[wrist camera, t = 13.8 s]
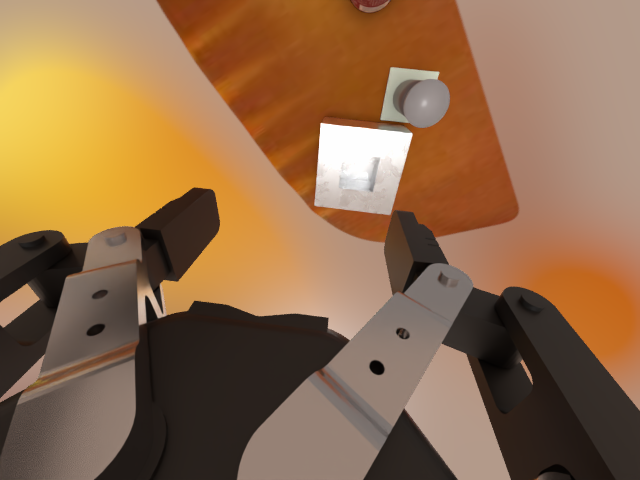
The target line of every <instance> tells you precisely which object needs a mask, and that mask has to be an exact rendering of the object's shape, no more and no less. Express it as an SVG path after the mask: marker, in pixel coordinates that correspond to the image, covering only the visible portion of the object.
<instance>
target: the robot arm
mask: <svg viewBox="0 0 640 480" xmlns="http://www.w3.org/2000/svg"><path fill="white" fill-rule="evenodd" d="M219 226H220V220H219V214H218V208H217V202H216V197H215V193H214V191H213V190H211V189H203V188H192V189H191V190H190V191H188V192H187V193H186V194H184V195H183V196H182V197H180V198H178V199H175V200H173V201H170V202H169V203H167V204H166V205H165V206H163V207H162V208H160V209H159V210H158V211H156V213H154V214H152V215H151V216H149V217H148V218H147V219H145V220H144V221H142V222H141V223H140V224H138V225H137V226H135V227H128V226H127V227H126V226H125V227H116V228H111V229H107V230H105V231H102V232H100V233H98V234H96V235H95V236H93V237H92V238H91V239H90V240H89V242H88V243H75V244H69V243H68V242H67V240H66V238H65V237H64V235H63V234H62V233H61V232H59V231H53V230H46V231H39V232H33V233H29V234H25V235H22V236H20V237H17V238H15V239H13V240H11V241H9V242H7V243H5V244H3V245H1V246H0V302H1V301H2V300H3V299H5V298H7V297H8V296H9V295H11V294H12V293H14V292H15V291H17V290H18V289H20V288H21V287H22V286H23V285H25V284H28V285H29V286H30V287H31V289H32V290H33V291H34V292H35V294H36V295H37V296H38V297H39V298H40V300H39V301H37V302H36V303H35V304H33V305H32V306H31V307H30V308H28V309H27V310H26V311H25V312H23V313H22V314H21V315H20V316H18V317H17V318H16V319H14V320H13V321H12V322H11V323H9V324H8V325H7V326H6V327H4V328H3V327H2V326H1V325H0V398H1V397H2V396H3V395H4V394H5V393H6V392H7V391H8V390H9V389H10V388H11V387H12V386H13V385H14V384H15V383H16V382H17V381H18V380H19V379H20V378H21V377H22V376H23V375H24V374H25V373H26V372H27V371H28V370H29V369H30V368H31V367H32V366H33V365H34V364H35V363H36V362H37V361H38V360H39V359H40V358H41V357H42V356H43V355H44V354H45V356H44V360H43V363H42V367H41V371H40V374H39V377H38V379H37V380H36V382H35V383H33V384H32V385H30V386H28V387H27V388H26V389H25V390H23V391H21V392H19V393H17V394H15V395H13V396H11V397H10V398H8V399H6V400H4V401H2V402H0V480H458V479H457V478H456V477H455V475H454V474H453V473H452V471H451V470H450V469H449V467H448V466H447V465H446V464H445V462H444V461H443V459H442V458H441V457H440V455H439V454H438V453H437V451H436V450H435V449H434V447H433V446H432V445H431V443H430V442H429V441H428V439H427V438H426V437H425V435H424V434H423V433H422V431H421V430H420V429H419V427H418V426H417V425H416V423H415V422H414V421H413V419H412V418H411V417H410V415H409V414H408V413H407V411H406V410H405V409H404V407H405V406H406V404H407V402H408V400H409V399H410V397H411V395H412V394H413V392H414V390H415V388H416V386H417V385H418V383H419V381H420V379H421V378H422V376H423V374H424V373H425V371H426V369H427V367H428V366H429V364H430V362H431V361H432V359H433V357H434V355H435V354H436V352H437V350H438V348H439V347H440V345H441V343H442V344H444V345H447V346H449V347H451V348H454V349H456V350H459V351H461V352H464V353H466V354H467V357H468V360H469V363H470V366H471V368H472V371H473V374H474V377H475V380H476V382H477V385H478V388H479V391H480V394H481V396H482V399H483V402H484V405H485V408H486V411H487V413H488V416H489V419H490V422H491V424H492V427H493V430H494V433H495V436H496V439H497V441H498V444H499V447H500V450H501V453H502V456H503V458H504V461H505V464H506V467H507V470H508V472H509V475H510V478H511V480H640V411H639V410H638V408H637V407H636V406H635V405H634V403H633V402H632V401H631V400H630V399H629V397H628V396H627V395H626V393H625V392H624V391H623V390H622V388H621V387H620V386H619V385H618V384H617V382H616V381H615V380H614V379H613V377H612V376H611V375H610V374H609V372H608V371H607V370H606V369H605V367H604V366H603V365H602V364H601V363H600V362H599V360H598V359H597V358H596V357H595V355H594V354H593V353H592V351H591V350H590V349H589V348H588V347H587V345H586V344H585V343H584V342H583V340H582V339H581V338H580V337H579V336H578V334H577V333H576V332H575V331H574V329H573V328H572V327H571V326H570V325H569V323H568V322H567V321H566V319H565V318H564V317H563V316H562V314H561V313H560V312H559V311H558V310H557V308H556V307H555V306H554V305H553V304H552V303H551V302H549V301H548V300H547V299H545V298H544V297H542V296H541V295H539V294H537V293H535V292H533V291H530V290H528V289H525V288H520V287H508V288H506V289H505V290H504V291H503V292H502V294H501V295H500V296H498V295H495V294H491V293H488V292H485V291H482V290H479V289H476V288H474V287H473V283H472V280H471V279H470V278H469V276H468V275H467V274H465V273H464V272H463V271H461V270H460V269H458V268H456V267H453V266H451V265H449V264H448V262H447V260H446V258H445V256H444V254H443V252H442V250H441V248H440V247H439V244H438V242H437V241H436V240H435V237H434V235H433V233H432V231H431V230H429V229H428V228H427V227H426V226H425V225H423V224H418V222H417V220H416V218H415V216H414V213H413V212H407V211H398V210H395V211H394V212H393V215H392V218H391V222H390V225H389V229H388V233H387V236H386V240H385V246H384V254H385V258H386V263H387V269H388V273H389V279H390V284H391V288H392V294H393V296H392V297H391V298H390V299H389V300H388V302H387V303H386V304H385V305H384V306H383V307H382V308H381V309H380V310H379V311H378V312H377V313H376V314H375V315H374V316H373V317H372V318H371V319H370V320H369V321H368V322H367V324H366V325H365V326H364V327H363V328H362V329H361V330H360V331H359V332H358V333H357V334H356V335H355V336H354V337H353V338H352V339H351V340H348V339H347V338H346V337H344V336H342V335H341V334H339V333H337V332H335V331H333V330H330V329H328V318H326V317H317V316H310V315H302V314H284V315H273V316H255V315H252V314H250V313H247V312H244V311H242V310H239V309H237V308H234V307H231V306H229V305H223V304H216V303H209V302H208V303H207V302H201V301H194V302H193V304H192V305H191V307H190V309H189V310H188V311H185V312H179V313H174V314H171V315H166V308H165V301H164V295H163V289H162V286H161V284H160V283H161V282H162V281H163V280H169V281H179V279H180V278H181V277H182V276H183V274H184V273H185V272H186V271H187V270H188V268H189V267H190V266H191V265H192V264H193V262H194V261H195V260H196V259H197V257H198V256H199V255H200V254H201V253H202V251H203V250H204V249H205V248H206V246H207V245H208V244H209V243H210V241H211V240H212V239H213V238H214V237H215V235H216V234H217V233H218V231H219ZM521 360H524V362H525V364H526V366H527V368H528V370H529V371H530V374H531V376H532V381H533V385H532V383H531V382H530V379H529V378H528V376H527V374H526V372H525V370H524V368H523V366H522V364H521V363H520V362H521Z"/></svg>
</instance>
